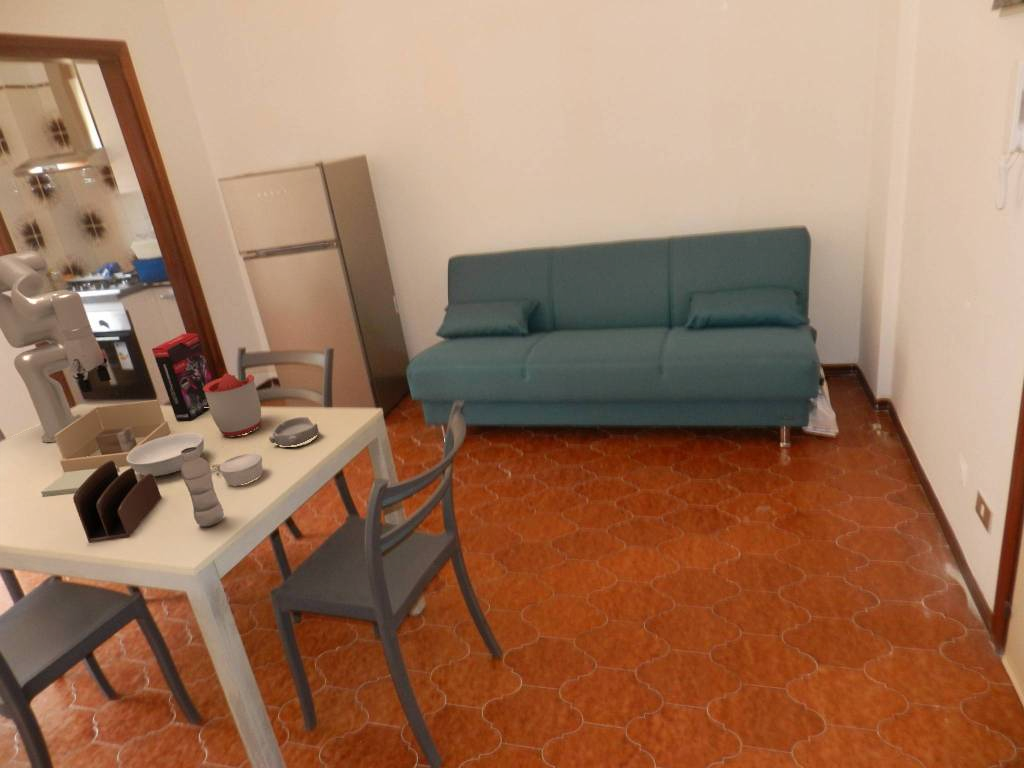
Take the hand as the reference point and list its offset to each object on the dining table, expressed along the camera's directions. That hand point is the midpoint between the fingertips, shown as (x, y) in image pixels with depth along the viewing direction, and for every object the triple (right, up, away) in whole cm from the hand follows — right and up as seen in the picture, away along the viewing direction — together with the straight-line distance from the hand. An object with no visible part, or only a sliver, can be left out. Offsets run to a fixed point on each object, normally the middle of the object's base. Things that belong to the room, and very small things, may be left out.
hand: (97, 386), depth 213 cm
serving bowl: (+28, -24, -9) cm, 38 cm away
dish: (+62, -17, -1) cm, 64 cm away
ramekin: (+54, -26, -22) cm, 64 cm away
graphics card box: (+15, -10, +35) cm, 39 cm away
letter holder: (+29, -34, -36) cm, 58 cm away
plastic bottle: (+55, -34, -43) cm, 78 cm away
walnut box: (+3, -21, +8) cm, 23 cm away
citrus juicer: (+40, -14, +13) cm, 45 cm away
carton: (+3, -21, +8) cm, 23 cm away
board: (+3, -28, -12) cm, 31 cm away
